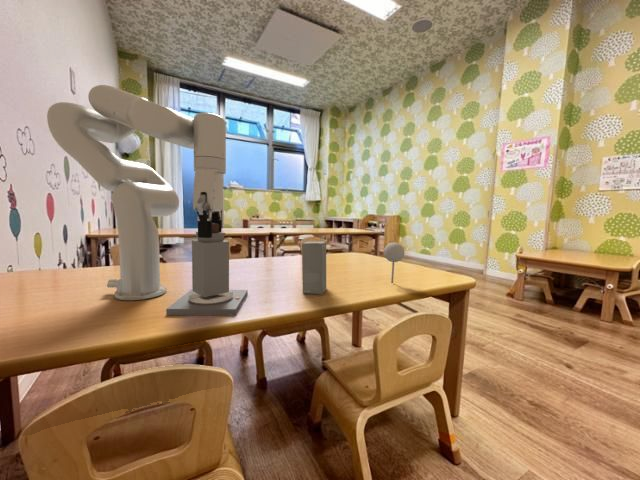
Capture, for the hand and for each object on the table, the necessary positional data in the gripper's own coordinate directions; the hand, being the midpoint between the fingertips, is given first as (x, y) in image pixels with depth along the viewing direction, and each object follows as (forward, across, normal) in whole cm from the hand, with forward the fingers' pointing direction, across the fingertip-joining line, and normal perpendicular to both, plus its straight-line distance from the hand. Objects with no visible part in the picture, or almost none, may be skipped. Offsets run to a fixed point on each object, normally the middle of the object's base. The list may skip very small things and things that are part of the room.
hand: (210, 235), depth 73 cm
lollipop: (+18, -23, +57) cm, 64 cm away
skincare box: (+18, -13, +28) cm, 36 cm away
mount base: (+18, 0, 0) cm, 18 cm away
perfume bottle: (+15, 0, 0) cm, 15 cm away
